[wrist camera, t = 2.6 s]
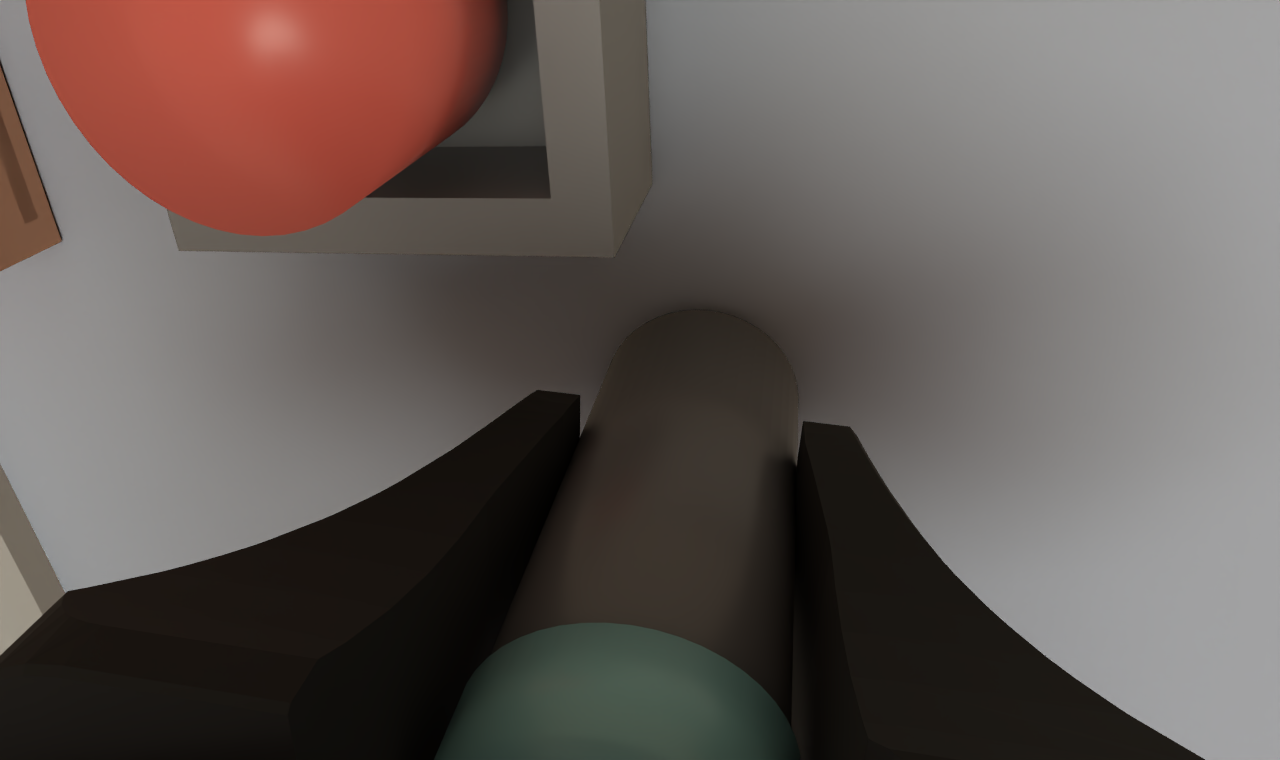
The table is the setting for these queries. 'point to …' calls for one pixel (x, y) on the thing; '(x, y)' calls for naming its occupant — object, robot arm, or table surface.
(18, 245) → the pen cup
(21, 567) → the phone holder
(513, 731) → the marker
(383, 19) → the button
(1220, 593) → the table surface
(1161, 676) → the table surface
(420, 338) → the table surface
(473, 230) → the button base
